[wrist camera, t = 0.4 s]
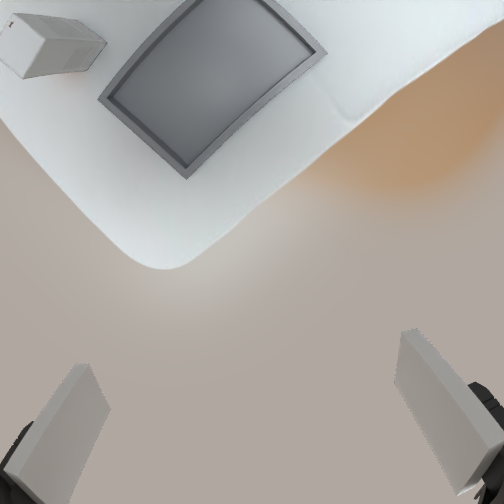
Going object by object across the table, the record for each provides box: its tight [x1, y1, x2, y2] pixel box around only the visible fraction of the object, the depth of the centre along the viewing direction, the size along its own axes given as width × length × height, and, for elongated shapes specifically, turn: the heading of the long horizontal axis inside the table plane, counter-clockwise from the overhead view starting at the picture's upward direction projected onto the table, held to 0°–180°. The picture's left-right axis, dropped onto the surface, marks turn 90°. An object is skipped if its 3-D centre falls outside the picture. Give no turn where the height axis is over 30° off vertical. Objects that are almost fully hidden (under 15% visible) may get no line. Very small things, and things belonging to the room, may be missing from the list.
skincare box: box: [0, 13, 107, 79], centre depth 20 cm, size 6×4×12 cm
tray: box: [97, 0, 328, 180], centre depth 27 cm, size 20×14×2 cm
